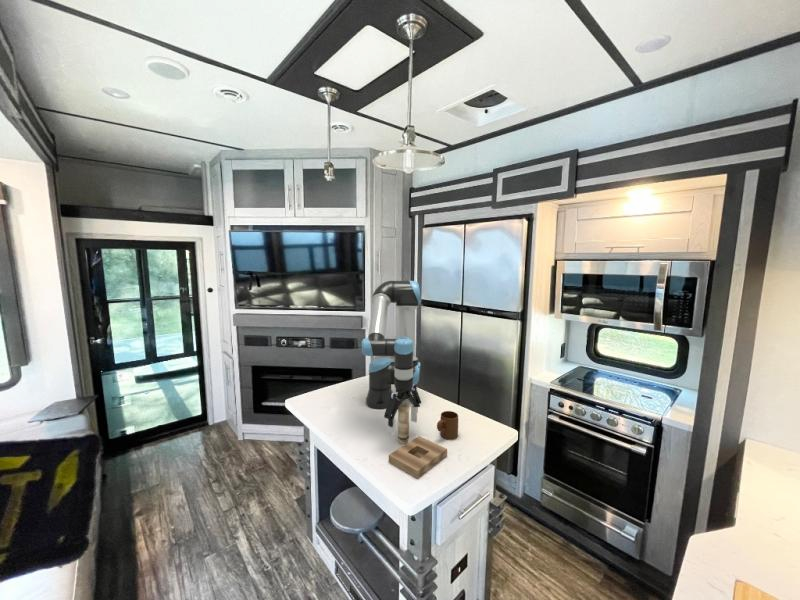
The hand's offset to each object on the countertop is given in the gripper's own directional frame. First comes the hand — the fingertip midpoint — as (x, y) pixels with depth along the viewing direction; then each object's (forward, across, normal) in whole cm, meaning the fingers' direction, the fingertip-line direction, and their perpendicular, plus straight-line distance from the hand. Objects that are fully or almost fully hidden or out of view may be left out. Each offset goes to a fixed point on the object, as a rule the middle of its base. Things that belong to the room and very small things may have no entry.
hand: (403, 427), depth 135 cm
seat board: (+7, +5, +12) cm, 14 cm away
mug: (+7, -15, +11) cm, 20 cm away
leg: (+7, 0, 0) cm, 7 cm away
